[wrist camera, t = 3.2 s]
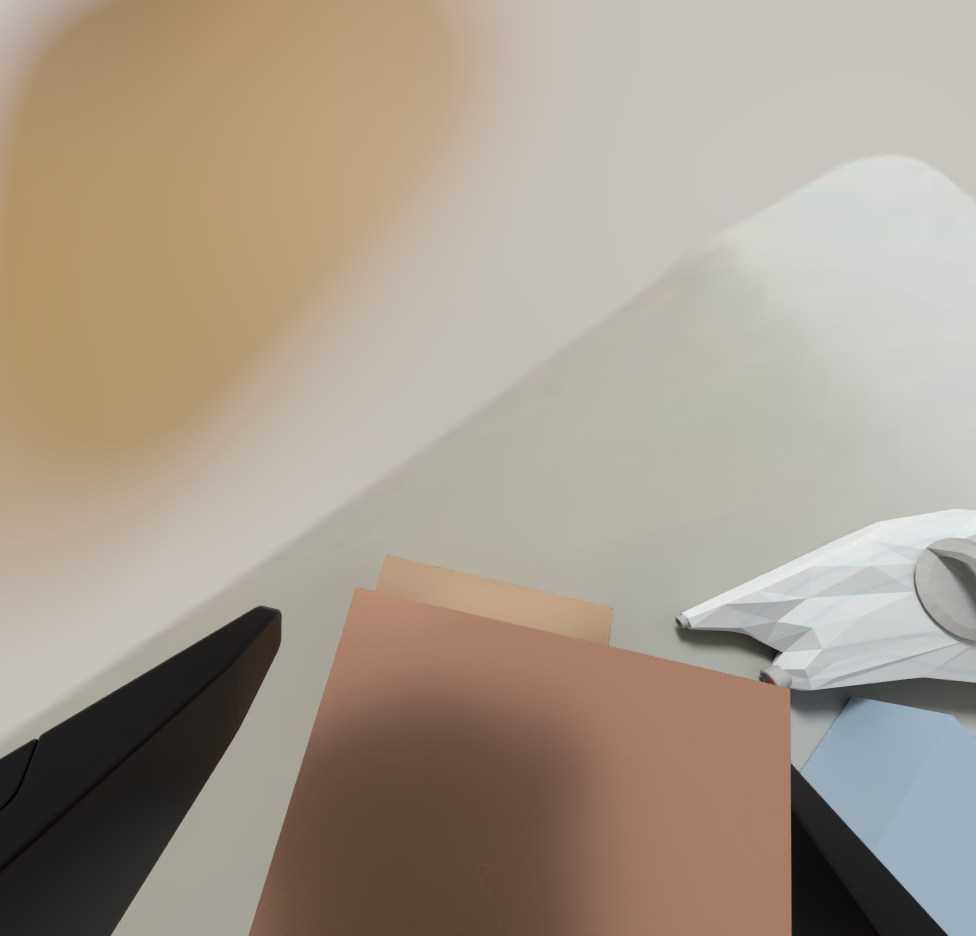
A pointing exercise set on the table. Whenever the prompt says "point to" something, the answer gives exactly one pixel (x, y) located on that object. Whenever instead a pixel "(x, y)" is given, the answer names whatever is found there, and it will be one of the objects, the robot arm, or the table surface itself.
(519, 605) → the stand
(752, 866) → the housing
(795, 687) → the spaceship
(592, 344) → the table surface
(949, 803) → the stand
